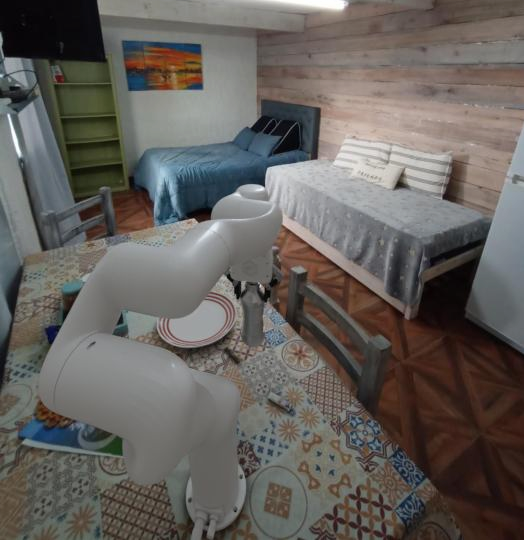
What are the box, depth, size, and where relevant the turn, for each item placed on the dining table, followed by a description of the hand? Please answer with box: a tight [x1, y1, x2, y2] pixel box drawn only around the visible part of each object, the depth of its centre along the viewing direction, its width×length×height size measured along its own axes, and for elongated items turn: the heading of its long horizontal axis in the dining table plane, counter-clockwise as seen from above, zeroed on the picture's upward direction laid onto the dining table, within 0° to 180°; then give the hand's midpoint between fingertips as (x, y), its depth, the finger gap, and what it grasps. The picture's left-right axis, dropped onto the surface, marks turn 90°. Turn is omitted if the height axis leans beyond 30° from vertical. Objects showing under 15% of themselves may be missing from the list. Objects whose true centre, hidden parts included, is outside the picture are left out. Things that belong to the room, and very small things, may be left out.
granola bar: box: [267, 390, 293, 412], centre depth 84 cm, size 7×2×1 cm, turn 58°
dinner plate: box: [156, 290, 238, 349], centre depth 110 cm, size 27×27×3 cm
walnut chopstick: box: [224, 347, 241, 364], centre depth 98 cm, size 7×1×1 cm, turn 44°
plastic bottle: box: [239, 281, 266, 349], centre depth 83 cm, size 6×7×20 cm
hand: (252, 297), depth 81 cm, fingers closed on plastic bottle, 6 cm apart
